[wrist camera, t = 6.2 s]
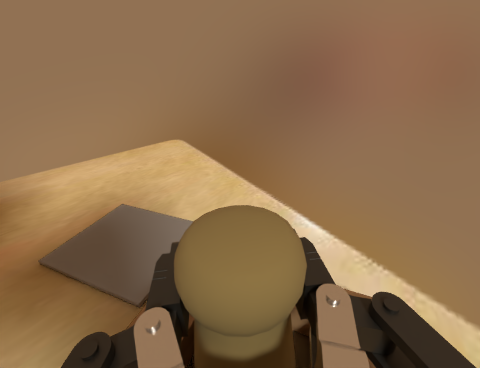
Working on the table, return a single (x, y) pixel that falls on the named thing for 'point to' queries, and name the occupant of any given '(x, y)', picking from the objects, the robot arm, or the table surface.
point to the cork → (241, 287)
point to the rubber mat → (119, 252)
